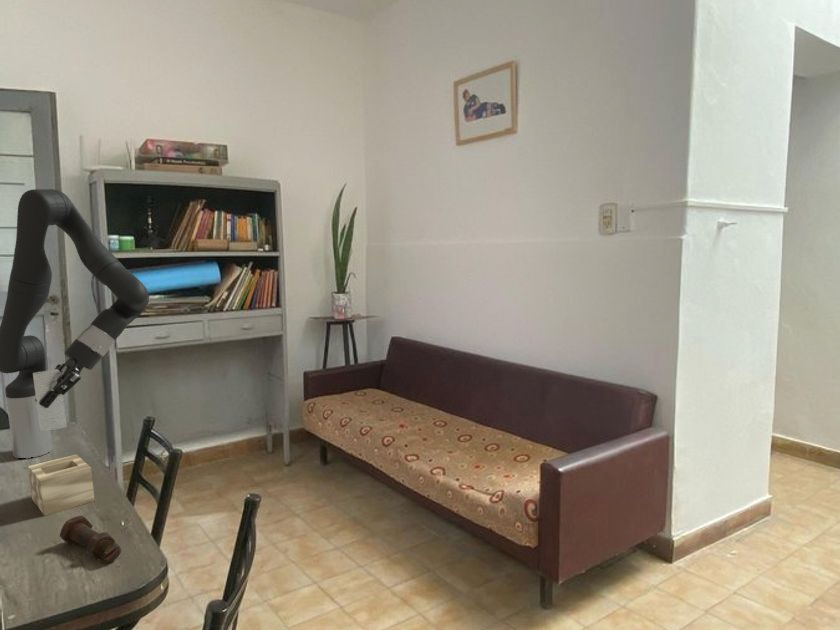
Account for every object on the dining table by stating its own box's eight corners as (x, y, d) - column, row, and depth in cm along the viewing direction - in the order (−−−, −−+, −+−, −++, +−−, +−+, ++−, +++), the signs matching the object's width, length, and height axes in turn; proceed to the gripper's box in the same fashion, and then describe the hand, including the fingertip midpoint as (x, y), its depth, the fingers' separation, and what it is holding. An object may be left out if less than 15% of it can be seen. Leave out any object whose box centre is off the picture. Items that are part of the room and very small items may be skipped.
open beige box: (32, 499, 139) (28, 466, 138) (79, 485, 146) (76, 454, 145) (44, 515, 130) (40, 481, 129) (94, 500, 137) (91, 467, 136)
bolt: (111, 574, 110) (71, 548, 119) (133, 551, 114) (93, 527, 122) (93, 556, 107) (53, 531, 116) (116, 533, 110) (76, 510, 119)
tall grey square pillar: (39, 428, 146) (32, 372, 144) (62, 423, 149) (56, 369, 147) (43, 432, 143) (36, 375, 141) (66, 426, 147) (60, 371, 145)
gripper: (69, 335, 153) (19, 391, 147) (85, 341, 143) (33, 401, 137) (94, 352, 158) (47, 407, 151) (111, 359, 148) (62, 418, 141)
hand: (40, 404), depth 144 cm, fingers closed on tall grey square pillar, 3 cm apart
